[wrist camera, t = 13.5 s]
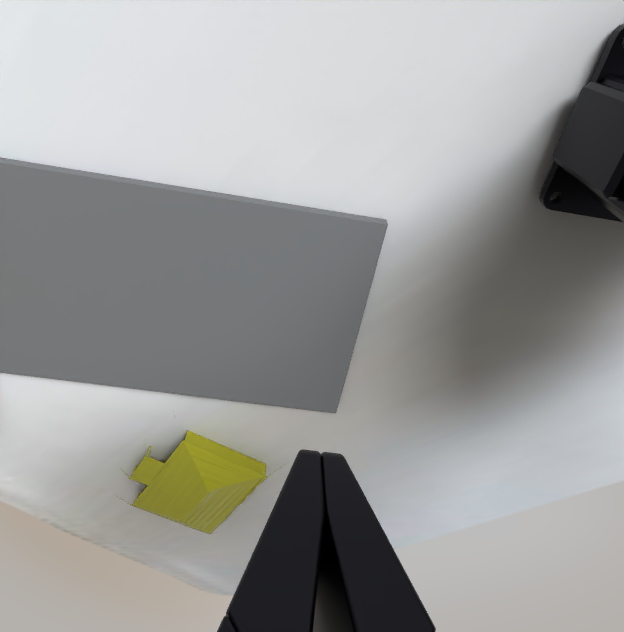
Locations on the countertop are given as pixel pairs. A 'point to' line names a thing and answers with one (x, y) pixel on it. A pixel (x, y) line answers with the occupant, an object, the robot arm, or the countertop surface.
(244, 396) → the charcoal mat
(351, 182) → the countertop surface
